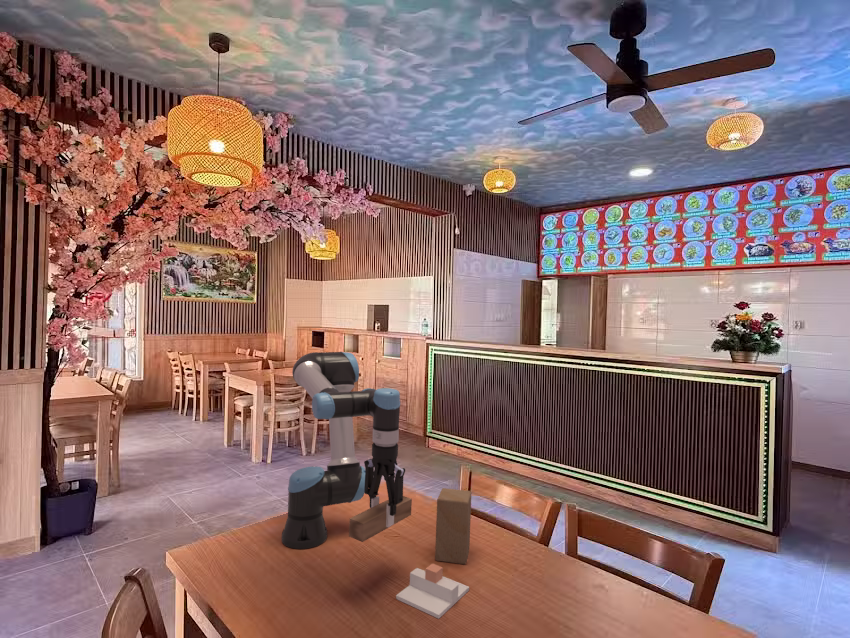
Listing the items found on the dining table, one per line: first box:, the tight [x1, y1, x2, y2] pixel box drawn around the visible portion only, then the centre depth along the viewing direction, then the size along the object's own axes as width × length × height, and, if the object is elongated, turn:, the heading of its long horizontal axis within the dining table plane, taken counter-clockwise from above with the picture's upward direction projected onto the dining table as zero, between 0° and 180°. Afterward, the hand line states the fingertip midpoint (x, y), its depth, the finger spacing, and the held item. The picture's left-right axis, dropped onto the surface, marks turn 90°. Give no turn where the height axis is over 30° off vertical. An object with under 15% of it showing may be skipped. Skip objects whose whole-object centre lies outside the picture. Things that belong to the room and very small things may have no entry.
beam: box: [348, 495, 413, 543], centre depth 138 cm, size 5×22×5 cm, turn 145°
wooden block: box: [434, 487, 472, 565], centre depth 156 cm, size 10×10×20 cm
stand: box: [395, 562, 470, 619], centre depth 134 cm, size 14×16×8 cm
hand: (382, 522), depth 139 cm, fingers closed on beam, 5 cm apart
